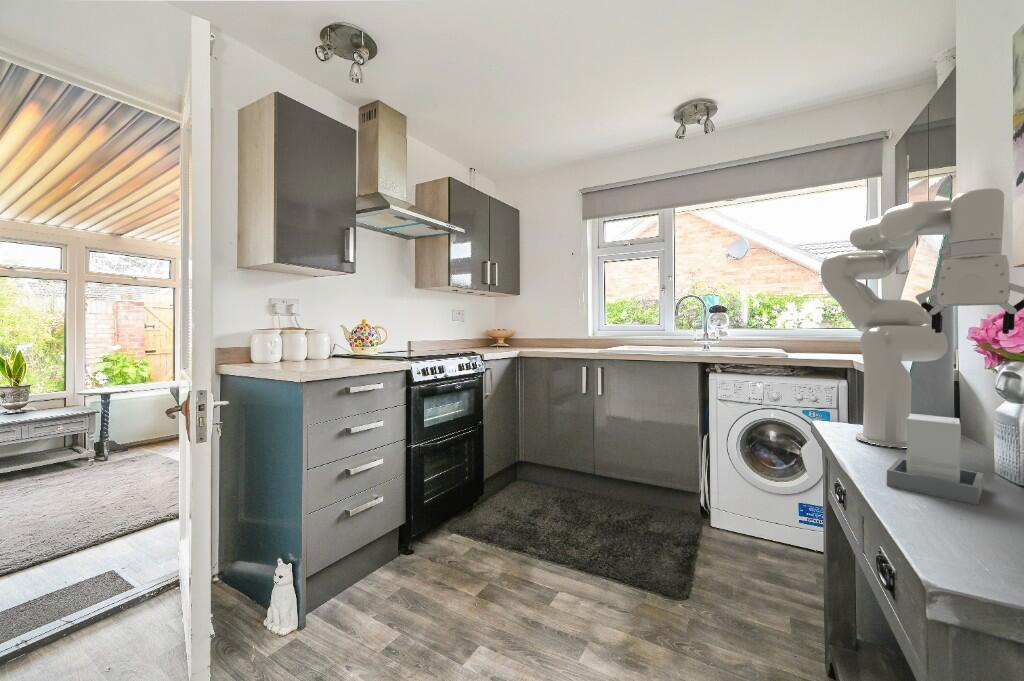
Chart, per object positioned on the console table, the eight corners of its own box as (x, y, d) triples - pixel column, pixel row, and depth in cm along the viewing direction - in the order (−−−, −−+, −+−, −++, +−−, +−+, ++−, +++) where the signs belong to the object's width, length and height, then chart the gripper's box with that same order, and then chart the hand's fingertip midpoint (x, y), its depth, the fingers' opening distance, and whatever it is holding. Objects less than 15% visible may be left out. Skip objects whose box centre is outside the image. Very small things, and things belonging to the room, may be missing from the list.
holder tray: (898, 472, 91) (899, 458, 91) (983, 488, 81) (983, 473, 81) (886, 485, 83) (886, 470, 83) (978, 505, 74) (978, 488, 74)
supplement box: (959, 482, 82) (961, 418, 82) (959, 492, 77) (961, 423, 77) (908, 473, 88) (909, 412, 87) (904, 481, 83) (906, 417, 82)
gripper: (914, 255, 93) (911, 332, 93) (1040, 243, 79) (1035, 334, 80) (920, 258, 97) (917, 332, 98) (1041, 247, 84) (1036, 333, 84)
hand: (970, 333), depth 89 cm, fingers open, 9 cm apart
